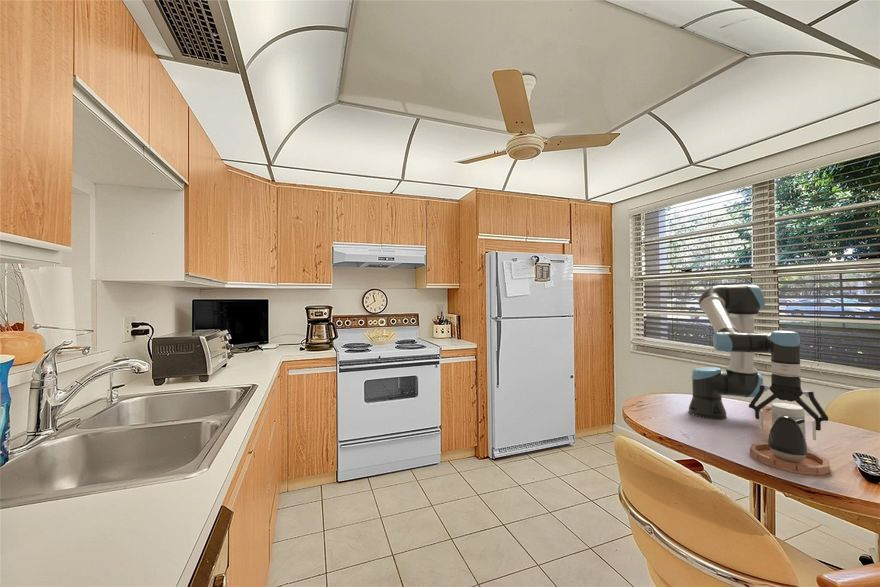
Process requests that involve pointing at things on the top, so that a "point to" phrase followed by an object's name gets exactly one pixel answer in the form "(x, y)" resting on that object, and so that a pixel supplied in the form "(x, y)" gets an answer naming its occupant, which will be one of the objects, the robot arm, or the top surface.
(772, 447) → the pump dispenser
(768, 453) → the round tray
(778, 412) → the supplement tub
